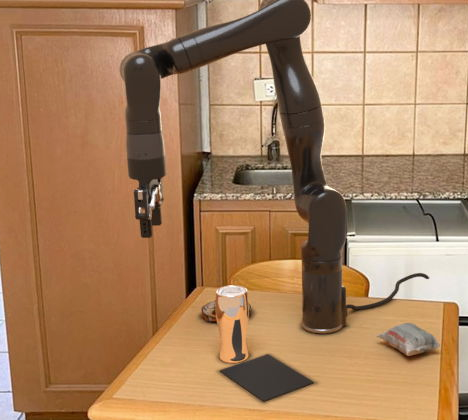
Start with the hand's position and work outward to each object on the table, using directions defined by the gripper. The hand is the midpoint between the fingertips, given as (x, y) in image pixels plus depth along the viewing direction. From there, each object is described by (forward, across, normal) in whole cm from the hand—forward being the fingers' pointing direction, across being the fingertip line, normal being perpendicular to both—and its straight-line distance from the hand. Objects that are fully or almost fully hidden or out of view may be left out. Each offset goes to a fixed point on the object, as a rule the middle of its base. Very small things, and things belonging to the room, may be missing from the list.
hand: (151, 231), depth 167 cm
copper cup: (+28, -1, -16) cm, 32 cm away
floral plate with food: (+28, +21, -11) cm, 37 cm away
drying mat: (+28, -10, -24) cm, 38 cm away
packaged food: (+28, +3, -53) cm, 60 cm away
